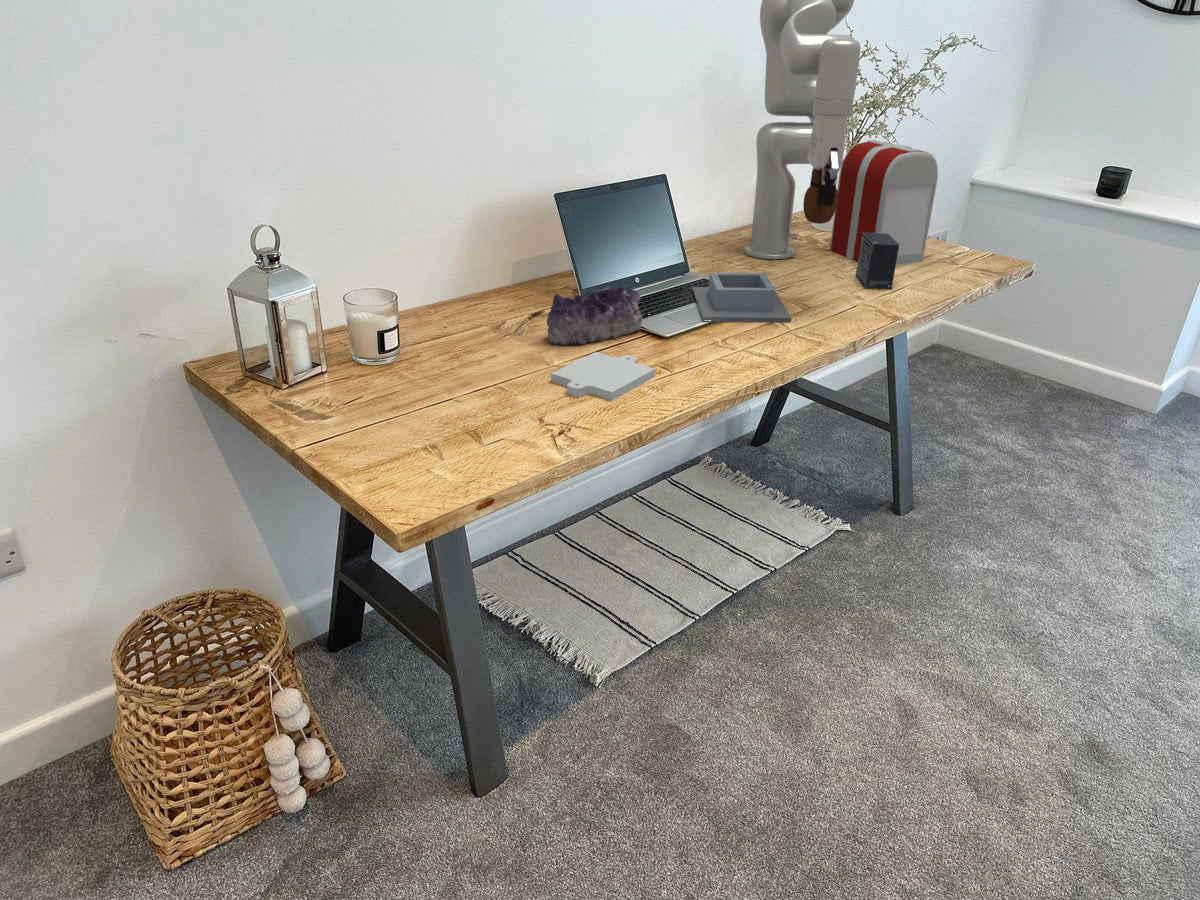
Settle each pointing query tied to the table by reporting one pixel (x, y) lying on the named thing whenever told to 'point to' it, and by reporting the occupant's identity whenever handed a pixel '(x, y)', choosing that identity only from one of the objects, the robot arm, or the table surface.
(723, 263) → the table surface
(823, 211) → the wooden figurine
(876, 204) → the red striped mailbox
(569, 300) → the geode
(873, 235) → the small box
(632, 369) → the mounting plate
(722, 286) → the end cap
